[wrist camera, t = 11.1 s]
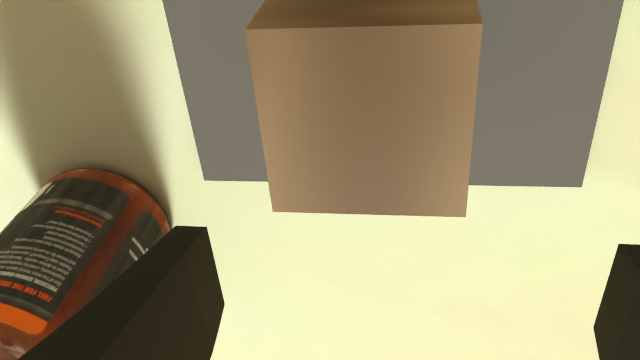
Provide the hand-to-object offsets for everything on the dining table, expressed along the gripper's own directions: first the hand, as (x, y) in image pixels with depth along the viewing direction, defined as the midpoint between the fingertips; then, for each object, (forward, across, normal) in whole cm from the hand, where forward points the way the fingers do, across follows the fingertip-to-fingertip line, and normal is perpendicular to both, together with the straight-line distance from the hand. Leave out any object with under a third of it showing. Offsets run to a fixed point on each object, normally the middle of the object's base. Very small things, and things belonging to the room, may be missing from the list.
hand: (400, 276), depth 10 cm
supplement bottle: (+11, +13, +8) cm, 18 cm away
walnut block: (+10, +1, -1) cm, 10 cm away
